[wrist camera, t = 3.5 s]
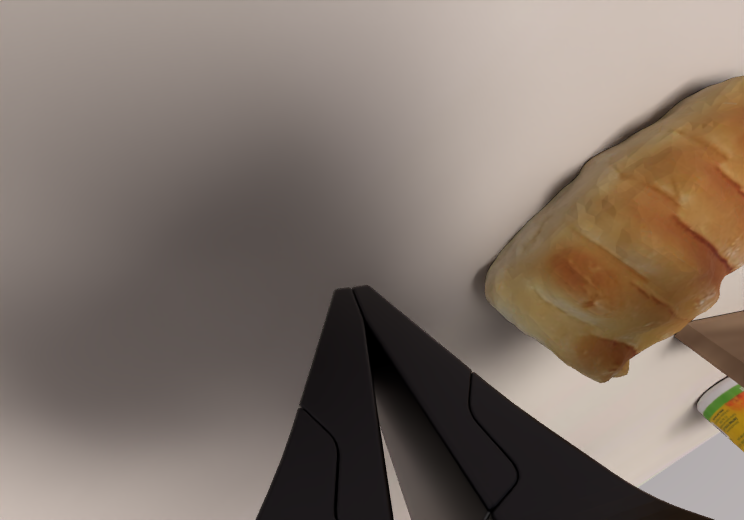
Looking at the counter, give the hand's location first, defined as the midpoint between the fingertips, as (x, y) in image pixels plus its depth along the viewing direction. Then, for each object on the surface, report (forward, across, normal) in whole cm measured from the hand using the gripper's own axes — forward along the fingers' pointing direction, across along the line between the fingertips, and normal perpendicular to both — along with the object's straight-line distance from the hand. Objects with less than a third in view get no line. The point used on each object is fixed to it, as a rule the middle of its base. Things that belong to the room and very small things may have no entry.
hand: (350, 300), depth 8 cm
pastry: (+2, -9, 0) cm, 9 cm away
